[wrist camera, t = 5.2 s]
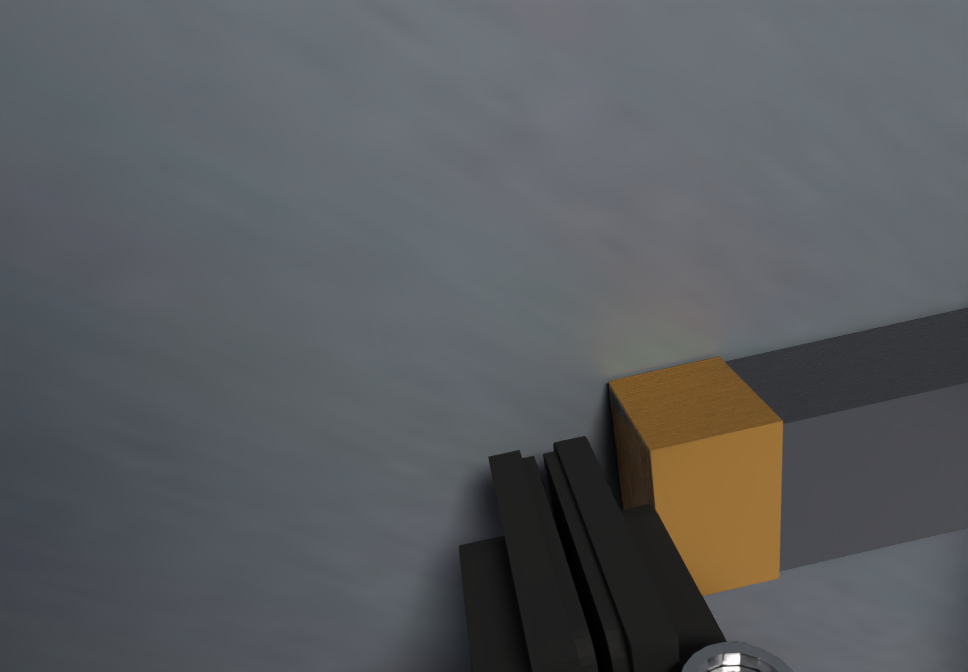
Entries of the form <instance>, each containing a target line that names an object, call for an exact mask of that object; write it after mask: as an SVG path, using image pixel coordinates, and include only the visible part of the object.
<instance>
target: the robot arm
mask: <svg viewBox="0 0 968 672" xmlns="http://www.w3.org/2000/svg"><path fill="white" fill-rule="evenodd" d="M553 446H554V452H549V453H545V454H543V458H544V464H545V470H546V476H547V482H548V489H549V495H550V501H551V507H552V512H551V509H550V505H549V502H548V499H547V496H546V493H545V490H544V486H543V483H542V480H541V477H540V474H539V471H538V467H537V464H536V461H535V458H534V456H531V457H526V458H522V457H521V453H520V451H519V450H518V451H513V452H508V453H504V454H499V455H494V456H490V457H488V458H489V463H490V468H491V472H492V477H493V482H494V487H495V492H496V497H497V502H498V507H499V511H500V516H501V521H502V526H503V531H504V536H501V537H496V538H492V539H487V540H483V541H478V542H474V543H469V544H465V545H460V546H459V552H460V562H461V571H462V580H463V589H464V598H465V607H466V616H467V625H468V634H469V643H470V652H471V661H472V670H473V672H793V671H792V670H791V669H790V668H789V667H788V666H787V665H786V664H785V663H784V662H783V661H782V660H781V659H779V658H778V657H776V656H774V655H773V654H771V653H769V652H767V651H766V650H764V649H762V648H758V647H755V646H752V645H749V644H745V643H735V642H727V641H726V639H725V637H724V635H723V634H722V632H721V630H720V628H719V626H718V624H717V622H716V621H715V619H714V617H713V615H712V613H711V611H710V609H709V608H708V606H707V604H706V602H705V600H704V598H703V596H702V594H701V593H700V591H699V589H698V587H697V585H696V583H695V581H694V580H693V578H692V576H691V574H690V572H689V570H688V568H687V567H686V565H685V563H684V561H683V559H682V557H681V555H680V554H679V552H678V550H677V548H676V546H675V544H674V542H673V541H672V539H671V537H670V535H669V533H668V531H667V529H666V528H665V526H664V524H663V522H662V520H661V518H660V516H659V514H658V513H657V511H656V510H655V508H654V507H653V506H652V505H651V504H647V505H642V506H638V507H633V508H628V509H624V510H620V509H619V507H618V504H617V502H616V500H615V498H614V496H613V494H612V491H611V489H610V487H609V485H608V483H607V481H606V478H605V476H604V474H603V472H602V470H601V468H600V465H599V463H598V461H597V459H596V457H595V455H594V452H593V450H592V448H591V446H590V444H589V442H588V440H587V438H586V437H585V436H582V437H578V438H573V439H569V440H564V441H559V442H555V443H554V444H553ZM552 513H553V515H552Z"/></svg>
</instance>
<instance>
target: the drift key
mask: <svg viewBox="0 0 968 672" xmlns="http://www.w3.org/2000/svg"><path fill="white" fill-rule="evenodd" d="M609 389H610V398H611V407H612V415H613V424H614V433H615V442H616V450H617V459H618V468H619V476H620V485H621V494H622V503H623V510H624V509H628V508H633V507H638V506H642V505H647V504H651V505H652V506H653V507H654V508H655V510H656V511H657V513H658V514H659V516H660V518H661V520H662V522H663V524H664V526H665V528H666V529H667V531H668V533H669V535H670V537H671V539H672V541H673V542H674V544H675V546H676V548H677V550H678V552H679V554H680V555H681V557H682V559H683V561H684V563H685V565H686V567H687V568H688V570H689V572H690V574H691V576H692V578H693V580H694V581H695V583H696V585H697V587H698V589H699V591H700V593H701V594H702V596H704V595H709V594H713V593H717V592H721V591H726V590H730V589H734V588H739V587H743V586H747V585H752V584H756V583H760V582H765V581H769V580H773V579H778V578H779V571H782V570H787V569H791V568H795V567H800V566H804V565H808V564H813V563H817V562H821V561H826V560H830V559H834V558H839V557H843V556H847V555H852V554H856V553H860V552H864V551H869V550H873V549H877V548H882V547H886V546H890V545H895V544H899V543H903V542H908V541H912V540H916V539H921V538H925V537H929V536H934V535H938V534H942V533H947V532H951V531H955V530H960V529H964V528H968V308H964V309H960V310H955V311H951V312H946V313H942V314H937V315H933V316H928V317H924V318H919V319H915V320H910V321H906V322H901V323H897V324H892V325H888V326H883V327H879V328H874V329H870V330H866V331H861V332H857V333H852V334H848V335H843V336H839V337H834V338H830V339H825V340H821V341H816V342H812V343H807V344H803V345H798V346H794V347H789V348H785V349H780V350H776V351H771V352H767V353H762V354H758V355H753V356H749V357H744V358H740V359H735V360H731V361H726V362H724V361H723V360H722V359H721V358H720V357H715V358H710V359H706V360H701V361H697V362H692V363H688V364H683V365H679V366H674V367H670V368H665V369H661V370H656V371H652V372H647V373H643V374H638V375H634V376H629V377H625V378H620V379H616V380H611V381H609Z"/></svg>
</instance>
